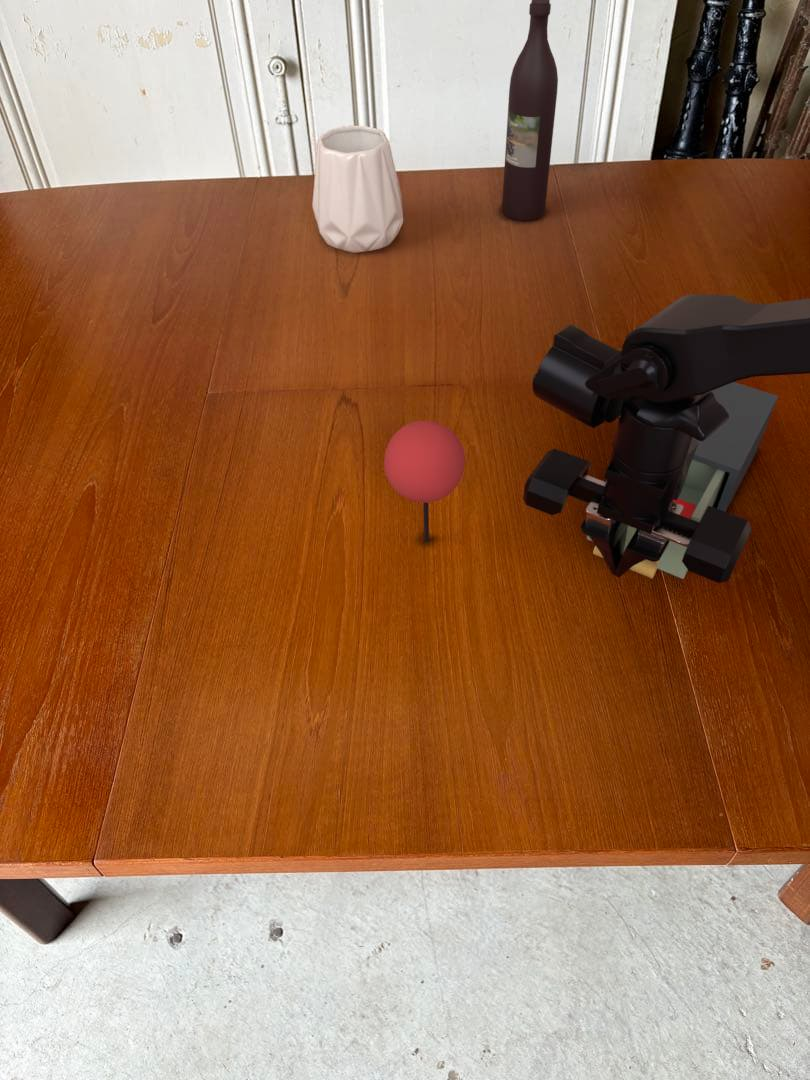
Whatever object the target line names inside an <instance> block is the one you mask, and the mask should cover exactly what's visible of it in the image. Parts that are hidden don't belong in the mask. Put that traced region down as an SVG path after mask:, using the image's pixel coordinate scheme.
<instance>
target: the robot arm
mask: <svg viewBox="0 0 810 1080" xmlns="http://www.w3.org/2000/svg"><path fill="white" fill-rule="evenodd" d="M807 374H810V298H803V299H796V300H789V301H782V302H780V301H779V302H773V303H759V302H757V303H755V302H750V301H747V300H745V299H742V298H740V297H737V296H735V295H733V294H732V295H731V294H706V293H705V294H702V293H700V294H698V293H692V294H686V295H684V296H681V297H678V298H677V299H676V300H674V301H672V302H671V303H669V305H667V306H666V307H664V308H663V309H661V310H660V311H659V312H657V313H656V314H654V315H653V316H651V317H650V318H649V319H647V320H646V321H644V322H642V323H641V324H640V325H639V326H637V327H636V328H635V329H633V330H631V331H630V332H629V333H627V335H626V336H625V339H624V342H623V343H622V348H621V350H618V349H616V348H615V347H612V346H611V345H609V344H607V343H604V342H603V341H601V340H599V339H597V338H595V337H592V336H591V335H589V334H588V333H587V332H585V330H583V329H581V328H579V327H577V326H575V325H573V324H569V325H568V326H566V327H564V328H563V329H561V330H559V332H557V333H556V334H554V336H553V343H552V346H551V347H550V349H548V351H547V353H546V354H545V355H544V357H543V358H542V361H541V363H540V364H539V367H538V369H537V372H536V373H535V374H534V375H533V378H532V391H533V395H534V396H535V397H536V398H538V399H539V400H541V401H543V402H545V403H547V404H548V405H550V406H552V407H553V408H556V409H557V410H559V411H560V412H563V413H564V414H566V415H568V416H570V417H571V418H573V419H575V420H577V421H578V422H580V423H581V424H584V425H585V426H587V427H588V428H589V427H590V428H592V429H595V428H597V427H598V426H601V425H602V424H604V423H605V422H606V423H613V422H615V421H616V420H617V419H618V418H619V421H618V424H617V429H616V431H615V435H614V437H613V440H612V444H611V445H612V446H611V447H612V452H611V456H610V460H609V464H608V465H607V467H606V468H605V472H604V477H603V479H604V480H605V481H604V480H601V479H600V478H599V479H598V478H596V477H594V476H591V475H589V472H590V469H591V465H592V462H591V461H589V460H588V459H585V458H581V457H579V456H576V455H573V454H571V453H568V452H565V451H563V450H560V449H557V448H555V447H554V448H552V449H551V450H548V451H547V452H546V453H545V454H544V455H543V457H542V458H541V459H540V461H539V462H538V464H537V465H536V467H535V468H534V469H533V470H532V472H531V473H530V475H528V477H527V479H526V481H525V484H524V489H523V497H522V500H523V502H524V505H525V506H527V507H530V508H533V509H535V510H537V511H540V512H541V513H542V512H543V513H545V514H547V515H549V516H554V515H558V514H561V513H562V512H563V510H564V508H565V503H566V501H567V499H568V497H572V498H574V499H577V500H579V501H582V502H585V503H587V506H586V508H585V514H586V516H585V518H584V520H583V521H582V523H581V525H580V532H581V533H582V534H583V535H586V536H587V535H588V536H589V537H590V538H591V540H592V541H593V542H592V541H591V542H592V543H593V544H594V545H596V547H597V548H598V550H599V551H600V553H601V554H602V556H603V558H602V559H603V560H604V562H605V564H606V566H607V568H608V570H609V572H610V574H611V575H612V576H616V577H617V578H621V577H622V576H623V575H624V574H626V573H627V572H628V571H629V570H630V568H631V567H632V566H634V565H636V564H638V563H640V562H642V561H644V560H649V561H652V562H657V561H659V560H660V558H661V557H662V555H663V553H664V551H665V549H666V547H667V546H668V544H669V542H670V541H672V542H675V543H677V544H680V545H682V546H685V547H687V549H686V551H685V553H684V556H683V559H682V562H683V564H684V565H685V566H686V568H687V569H688V571H687V572H690V573H693V574H695V575H698V576H700V577H703V578H704V579H708V580H710V581H712V582H715V583H718V584H723V583H727V582H729V581H730V578H731V576H732V574H733V572H734V570H735V567H736V565H737V563H738V561H739V559H740V557H741V555H742V552H743V550H744V548H745V546H746V544H747V543H748V539H749V537H750V535H751V532H752V530H753V528H752V527H751V523H750V522H749V519H746V518H743V517H740V516H738V515H735V514H734V513H733V514H732V513H730V512H727V511H726V512H725V511H722V510H719V509H717V508H714V507H711V506H708V507H707V509H706V511H705V513H704V515H703V517H702V519H701V520H700V522H697V521H695V520H692V519H689V518H687V517H684V516H681V515H680V514H681V512H682V510H683V506H682V505H680V504H678V503H675V502H673V499H674V500H677V499H678V498H679V496H680V494H681V492H682V489H683V486H684V483H685V480H686V476H687V474H688V470H689V467H690V465H691V462H692V459H693V457H694V454H695V451H696V449H697V446H698V443H699V442H698V441H697V440H699V441H704V440H705V439H706V438H708V437H709V436H710V435H711V434H712V433H713V432H715V431H716V430H717V429H718V428H719V427H720V426H721V425H723V424H724V423H725V422H726V421H727V420H728V419H729V414H728V412H727V411H726V409H725V408H724V406H723V405H722V404H720V403H719V402H718V401H717V400H716V398H715V395H714V393H713V392H710V391H712V390H715V389H717V388H720V387H722V386H725V385H727V384H730V383H732V382H735V383H736V382H737V381H738V382H739V381H742V380H746V379H750V378H755V377H771V376H772V377H773V376H789V375H791V376H792V375H807ZM692 437H693V438H692ZM694 438H695V439H694ZM696 439H697V440H696ZM628 526H631V527H633V528H636V529H637V530H636V532H635V533H634V535H633V537H632V538H631V540H630V542H629V543H628V545H627V547H626V549H625V542H626V534H627V527H628ZM624 549H625V551H624Z"/></svg>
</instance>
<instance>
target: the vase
mask: <svg viewBox="0 0 810 1080" xmlns="http://www.w3.org/2000/svg"><path fill="white" fill-rule="evenodd" d="M315 145H316V146H315V160H314V161H315V162H314V163H315V164H314V182H313V193H312V203H311V204H312V205H311V206H312V211H313V215H314V219H315V221H316V224H317V228H318V233H319V234H320V235H321V238H322V239H323V241H324V242H325V243H326V244H327V245H328V246H330V247H332V248H334V249H337V250H341V251H345V252H347V253H352V254H357V253H364V252H370V251H371V252H373V251H375V250H380V249H383V248H386V247H388V246H389V245H390V244H392V242H393V241H394V240H395V239H396V237H397V236H398V235H399V232H400V231H401V229H402V226H403V223H404V209H403V195H402V189H401V185H400V182H399V178H398V174H397V170H396V166H395V161H394V157H393V153H392V148H391V143H390V141H389V139H388V137H387V135H386V133H385V132H384V131H383V130H381V129H380V128H379V129H378V128H376V127H370V126H368V125H347V126H340V127H335V128H332V129H329V130H328V131H326V132H325V133H323V134H322V135H321V136H320V137H319V138H318V139H317V142H316V144H315Z"/></svg>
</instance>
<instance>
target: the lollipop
mask: <svg viewBox="0 0 810 1080" xmlns="http://www.w3.org/2000/svg"><path fill="white" fill-rule="evenodd" d="M383 458H384V460H383V466H384V467H383V468H384V472H385V476H386V479H387V481H388V483H389V484H390V486H391V487H392V489H394V491H395V492H397V494H399V495H400V496H402V497H403V498H404V499H407V500H409V501H412V502H416V503H422V509H423V511H422V513H423V533H424V535H423V542H426V543H428V542H430V541H431V538H430V522H429V521H430V520H429V519H430V517H429V513H430V512H429V503H433V502H438V501H441V500H442V499H445V498H447V496H449V495H451V493H453V492H454V490H455V489H456V488H457V486H458V485H459V483H460V482H461V480H462V477H463V474H464V471H465V466H466V455H465V450H464V446H463V444H462V442H461V440H460V438H459V437H458V435H457V434H456V433H455V432H454V431H452V429H450V428H449V427H447V426H446V425H444V424H442V423H440V422H437V421H433V420H417V421H413V422H409V423H407V424H405V425H404V426H402V427H401V428H398V430H397V431H396V432H395V433H393V435H392V437H391V438H390V440H389V442H388V444H387V446H386V449H385V453H384V457H383Z"/></svg>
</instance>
